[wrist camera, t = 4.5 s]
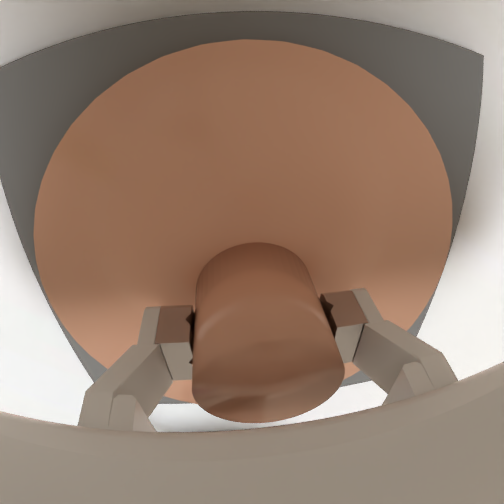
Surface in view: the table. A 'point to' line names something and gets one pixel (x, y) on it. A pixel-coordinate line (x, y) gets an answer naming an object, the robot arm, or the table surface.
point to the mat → (218, 30)
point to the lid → (242, 217)
